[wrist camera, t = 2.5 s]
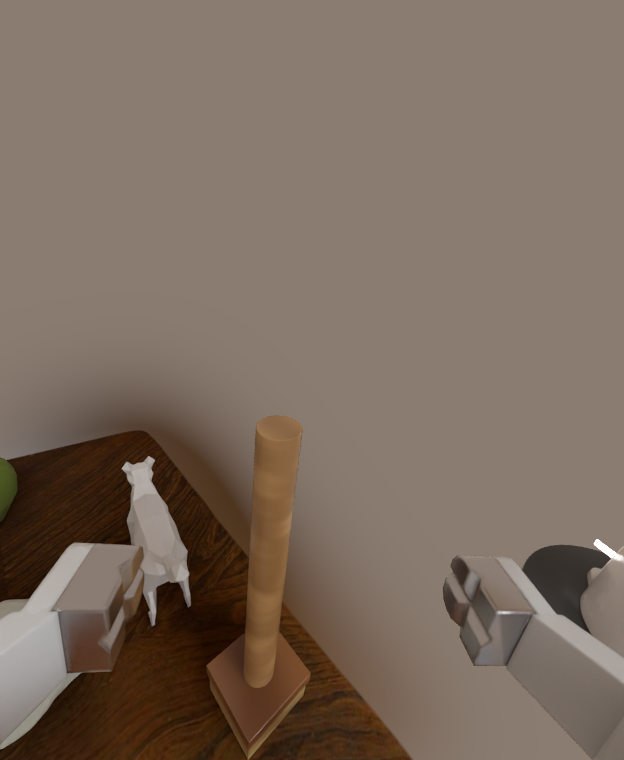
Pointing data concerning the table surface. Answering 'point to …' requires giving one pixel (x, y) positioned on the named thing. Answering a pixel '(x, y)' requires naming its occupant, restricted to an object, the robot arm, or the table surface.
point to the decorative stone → (16, 605)
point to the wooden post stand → (264, 599)
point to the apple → (6, 486)
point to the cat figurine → (155, 536)
